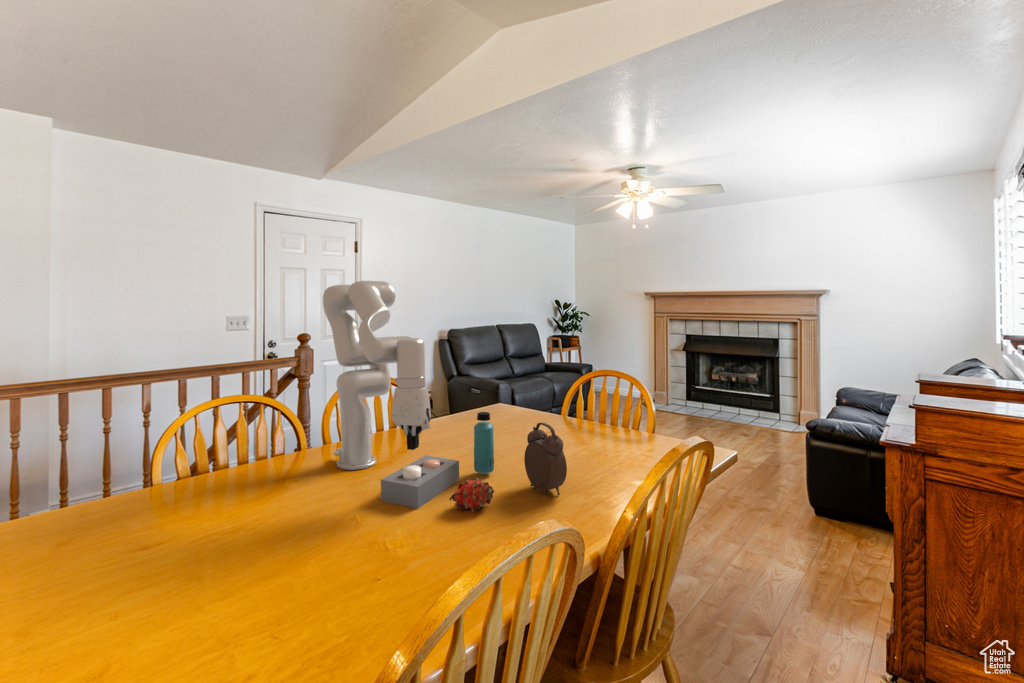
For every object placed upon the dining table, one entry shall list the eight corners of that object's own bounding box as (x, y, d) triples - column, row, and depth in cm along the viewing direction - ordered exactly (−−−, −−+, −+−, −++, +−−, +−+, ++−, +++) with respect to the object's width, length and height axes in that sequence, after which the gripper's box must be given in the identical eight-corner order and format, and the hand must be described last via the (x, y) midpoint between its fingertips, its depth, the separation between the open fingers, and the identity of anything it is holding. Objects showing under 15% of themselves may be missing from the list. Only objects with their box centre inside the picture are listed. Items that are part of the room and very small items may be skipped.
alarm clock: (570, 497, 132) (571, 428, 130) (549, 502, 129) (550, 431, 127) (542, 480, 145) (542, 416, 143) (521, 484, 141) (522, 419, 139)
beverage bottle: (491, 479, 145) (491, 415, 143) (470, 477, 146) (470, 414, 145) (496, 471, 152) (496, 410, 150) (476, 470, 153) (476, 409, 151)
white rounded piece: (399, 484, 131) (399, 470, 130) (409, 477, 135) (409, 464, 135) (414, 487, 129) (414, 473, 128) (424, 480, 133) (424, 467, 133)
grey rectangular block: (381, 500, 129) (380, 479, 128) (425, 473, 149) (425, 455, 149) (418, 508, 124) (417, 486, 124) (459, 479, 145) (459, 460, 144)
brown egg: (419, 476, 140) (419, 463, 139) (429, 471, 144) (429, 458, 144) (434, 479, 138) (434, 466, 138) (443, 473, 142) (443, 460, 142)
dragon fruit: (497, 512, 126) (453, 524, 123) (489, 485, 132) (447, 495, 129) (498, 496, 120) (452, 507, 117) (490, 468, 126) (445, 478, 123)
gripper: (380, 383, 129) (382, 449, 130) (426, 386, 123) (428, 455, 124) (397, 379, 136) (399, 442, 137) (442, 382, 130) (443, 447, 131)
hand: (412, 448), depth 130 cm, fingers closed
